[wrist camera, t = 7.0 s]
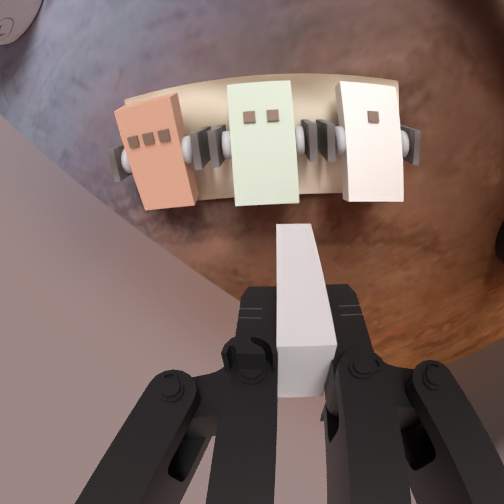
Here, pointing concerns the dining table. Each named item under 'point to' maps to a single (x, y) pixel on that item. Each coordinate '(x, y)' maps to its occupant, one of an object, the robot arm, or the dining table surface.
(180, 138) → the key three
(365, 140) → the key one
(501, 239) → the mug
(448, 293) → the dining table surface
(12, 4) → the mug
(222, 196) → the pastel toggle block board
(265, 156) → the key two
